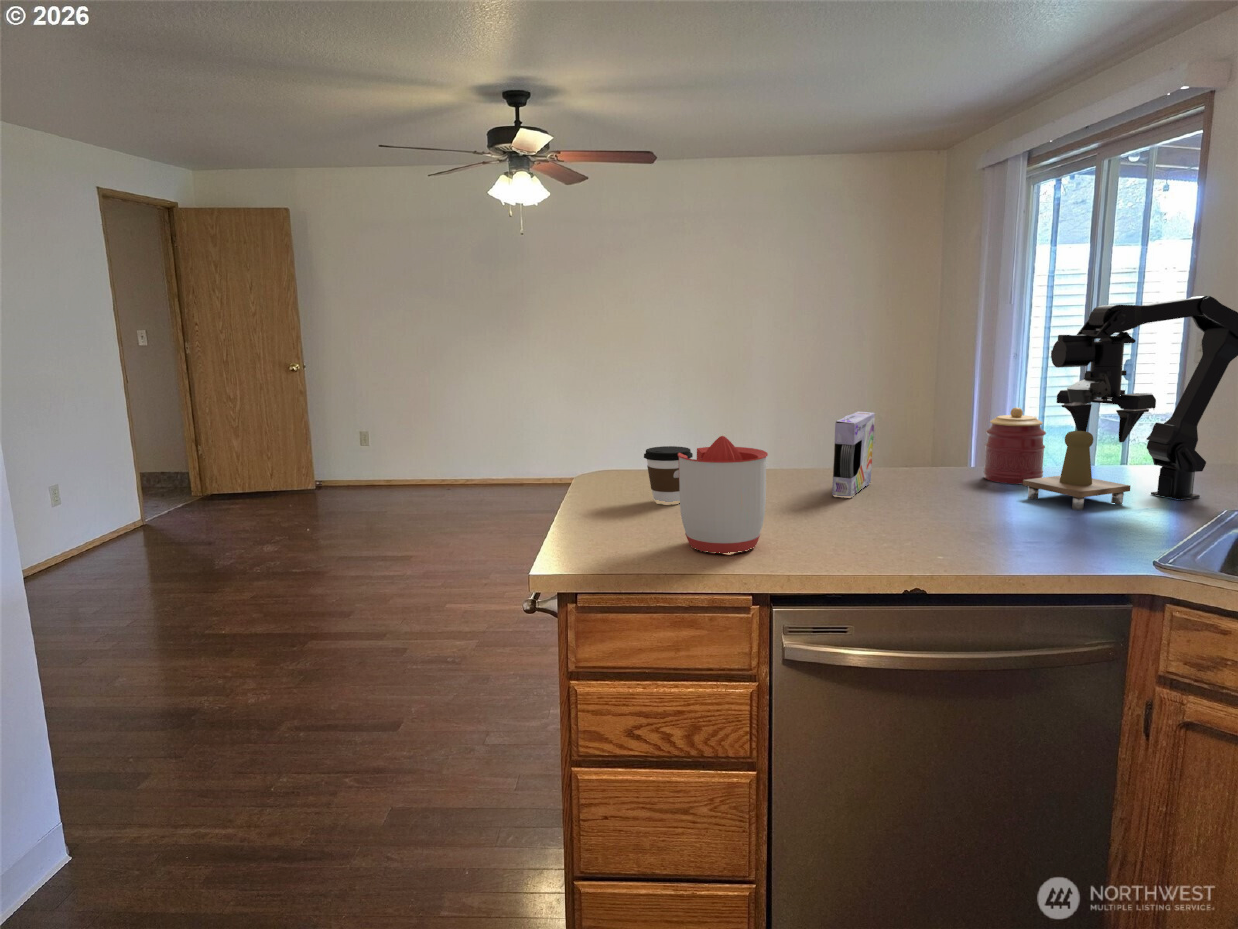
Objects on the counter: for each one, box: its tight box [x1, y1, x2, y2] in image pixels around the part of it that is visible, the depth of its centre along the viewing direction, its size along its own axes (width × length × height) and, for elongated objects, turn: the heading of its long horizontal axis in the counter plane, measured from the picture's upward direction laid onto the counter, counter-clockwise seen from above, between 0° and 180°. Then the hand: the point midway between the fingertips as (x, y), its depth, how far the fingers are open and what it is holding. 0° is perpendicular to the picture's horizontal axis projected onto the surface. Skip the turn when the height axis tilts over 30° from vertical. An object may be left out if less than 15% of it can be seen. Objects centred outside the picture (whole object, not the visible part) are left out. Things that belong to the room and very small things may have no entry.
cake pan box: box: [831, 411, 876, 496], centre depth 180 cm, size 19×5×18 cm, turn 148°
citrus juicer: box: [674, 435, 769, 553], centre depth 138 cm, size 16×17×20 cm
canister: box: [983, 406, 1047, 485], centre depth 189 cm, size 13×13×18 cm
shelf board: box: [1022, 475, 1131, 498], centre depth 166 cm, size 14×14×1 cm
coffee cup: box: [643, 445, 694, 502], centre depth 174 cm, size 11×11×12 cm
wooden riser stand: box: [1027, 486, 1125, 511], centre depth 166 cm, size 13×13×3 cm
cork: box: [1059, 430, 1094, 485], centre depth 165 cm, size 6×6×11 cm
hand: (1101, 439), depth 166 cm, fingers open, 9 cm apart
